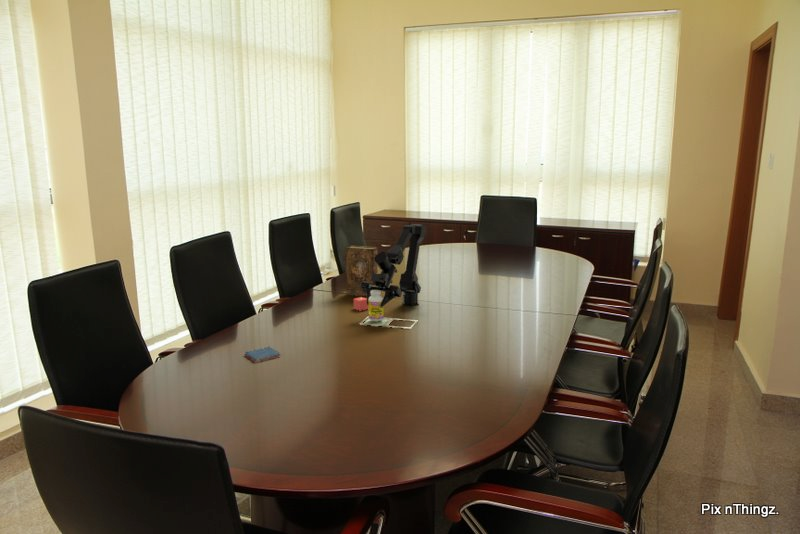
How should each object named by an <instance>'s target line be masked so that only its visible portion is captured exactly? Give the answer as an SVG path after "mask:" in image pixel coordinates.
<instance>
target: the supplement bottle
mask: <svg viewBox="0 0 800 534" xmlns="http://www.w3.org/2000/svg"><path fill="white" fill-rule="evenodd" d="M383 298H384V296H382V291H380V290H372V291H371V296H370V297H369V299H368V308H369V309H368V316H369V318H368V319H369V320H371V321H381V320H383V319H384V318H385V316H384V313H385V305H384V306H383V307H381V303H382V300H383Z"/></svg>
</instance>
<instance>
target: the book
mask: <svg viewBox="0 0 800 534" xmlns="http://www.w3.org/2000/svg"><path fill="white" fill-rule="evenodd" d="M344 250H345V251H344V253H345V256H344V257H345V258H344V259H345V294H346V295H347V296H353V295H355V296H356V297H362V296H366V297H365V298H367V293H366V292H364V291H363V289H362V288H361V287H360V285H361V283H362V282H363V281H364V282H370V283H371V284H372V286H376V284H374V281H371V276H372V273H374V274H379V272H378V271H379V270H378V269H379V267H378V265H377V264H376V262H375V260H374V258H375V256H376V255H377V254H378V247H376V246H363V245H350V246H349V247H348V246H346V247H345V248H344ZM355 296H354V297H355Z"/></svg>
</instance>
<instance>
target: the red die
mask: <svg viewBox="0 0 800 534" xmlns="http://www.w3.org/2000/svg"><path fill="white" fill-rule="evenodd" d="M355 309H356V310H355ZM366 309H368V310H369V308H368V305H367V297H362V296H359V297H356V298H353V310H355V311H358V310H359V311H358V312H363V311H367V310H366ZM362 310H363V311H362Z"/></svg>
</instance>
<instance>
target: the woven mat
mask: <svg viewBox="0 0 800 534" xmlns="http://www.w3.org/2000/svg"><path fill="white" fill-rule="evenodd" d="M244 356H245V357H246V358H248V359H250V361H252V362H253V363H255V364H257V363H260V362H265V361H268V360H273V359H277V358H280V357H281V354H280V352H278V350H276V349H274V348H273V347H271V346H267V347H266V346H265V347H262V348H257V349H252V350H249V351H245V352H244Z"/></svg>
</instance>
